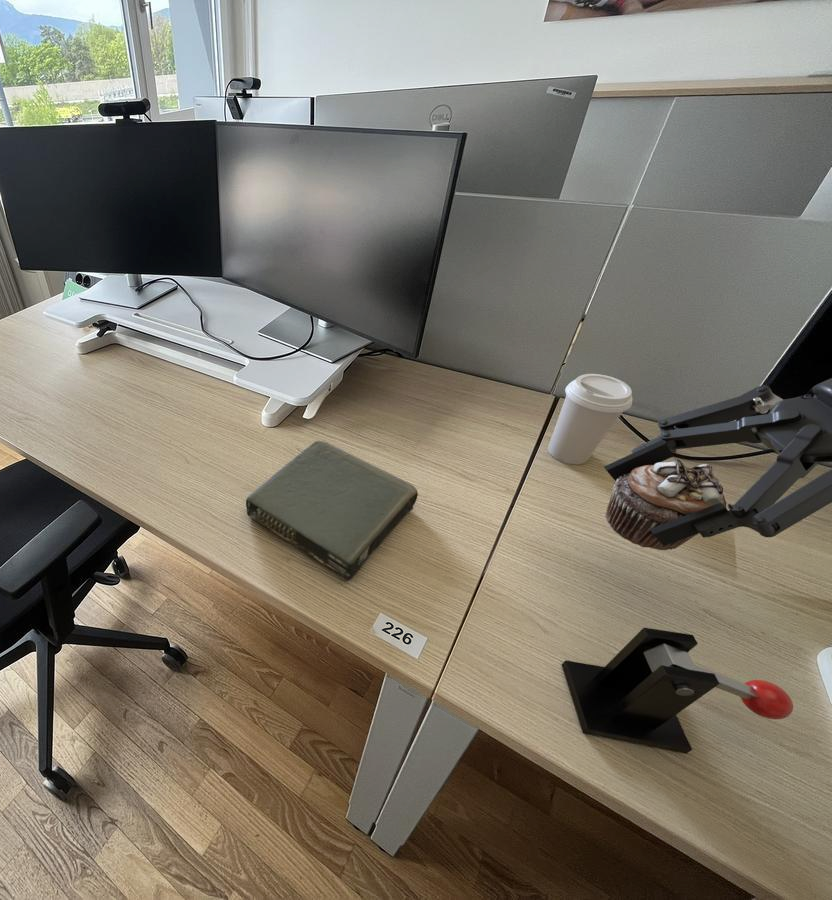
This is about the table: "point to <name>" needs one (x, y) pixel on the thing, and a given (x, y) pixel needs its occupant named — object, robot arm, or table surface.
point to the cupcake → (660, 499)
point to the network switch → (332, 506)
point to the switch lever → (729, 683)
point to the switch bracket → (638, 693)
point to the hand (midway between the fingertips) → (631, 503)
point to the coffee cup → (588, 416)
